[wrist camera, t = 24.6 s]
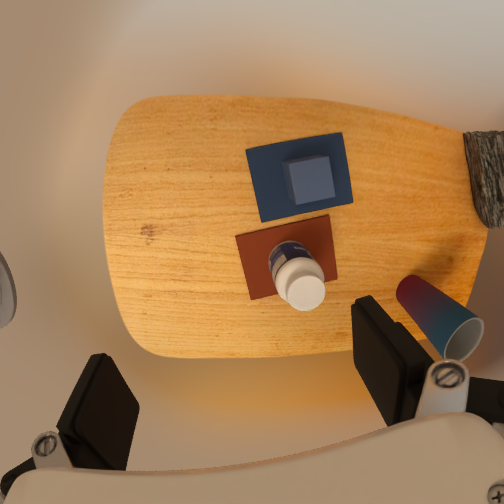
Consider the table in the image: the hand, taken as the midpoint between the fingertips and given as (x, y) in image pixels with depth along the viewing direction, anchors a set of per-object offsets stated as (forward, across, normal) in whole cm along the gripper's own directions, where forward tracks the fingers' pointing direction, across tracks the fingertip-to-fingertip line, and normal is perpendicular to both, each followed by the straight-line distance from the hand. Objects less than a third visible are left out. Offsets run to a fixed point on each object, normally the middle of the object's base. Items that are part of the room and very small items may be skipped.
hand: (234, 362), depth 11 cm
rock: (+22, -41, -5) cm, 47 cm away
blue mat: (+28, -10, -2) cm, 30 cm away
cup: (+28, -24, +18) cm, 41 cm away
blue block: (+27, -10, -2) cm, 29 cm away
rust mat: (+28, -6, +8) cm, 30 cm away
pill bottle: (+28, -6, +8) cm, 29 cm away
